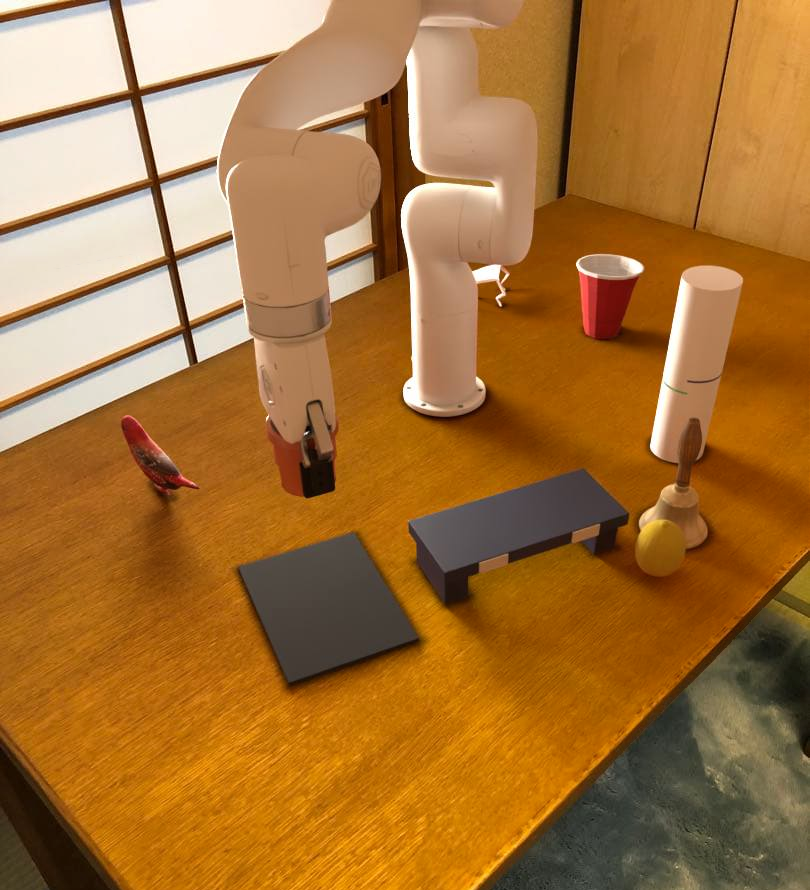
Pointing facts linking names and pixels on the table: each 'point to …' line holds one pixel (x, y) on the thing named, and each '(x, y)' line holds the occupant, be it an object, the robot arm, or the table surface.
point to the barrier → (514, 529)
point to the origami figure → (491, 277)
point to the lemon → (660, 548)
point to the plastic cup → (606, 291)
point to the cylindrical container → (695, 354)
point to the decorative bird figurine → (152, 458)
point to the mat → (325, 608)
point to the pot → (292, 457)
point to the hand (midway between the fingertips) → (307, 473)
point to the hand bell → (682, 491)
